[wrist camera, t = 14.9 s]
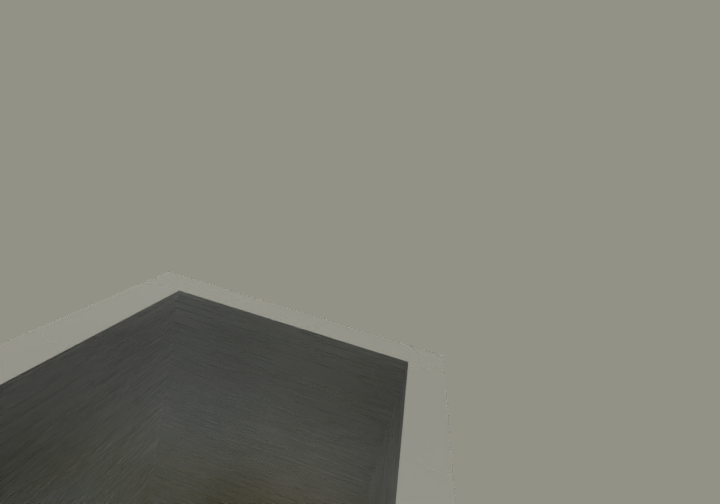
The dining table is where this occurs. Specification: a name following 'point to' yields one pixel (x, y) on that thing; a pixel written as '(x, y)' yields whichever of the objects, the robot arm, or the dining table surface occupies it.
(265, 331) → the sleeve
